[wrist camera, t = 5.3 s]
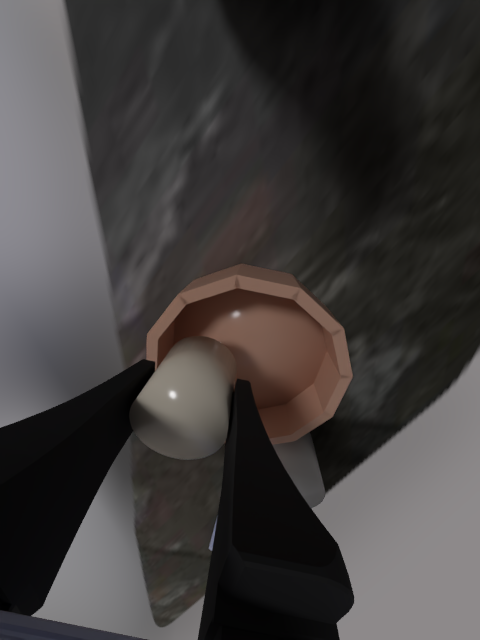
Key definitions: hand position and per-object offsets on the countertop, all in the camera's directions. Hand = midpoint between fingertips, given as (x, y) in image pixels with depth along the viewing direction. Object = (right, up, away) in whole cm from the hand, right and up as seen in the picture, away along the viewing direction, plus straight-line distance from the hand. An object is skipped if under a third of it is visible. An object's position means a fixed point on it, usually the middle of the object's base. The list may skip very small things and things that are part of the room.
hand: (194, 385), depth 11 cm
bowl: (+3, +1, +4) cm, 5 cm away
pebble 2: (+6, -7, +7) cm, 12 cm away
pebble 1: (0, +1, +1) cm, 2 cm away
